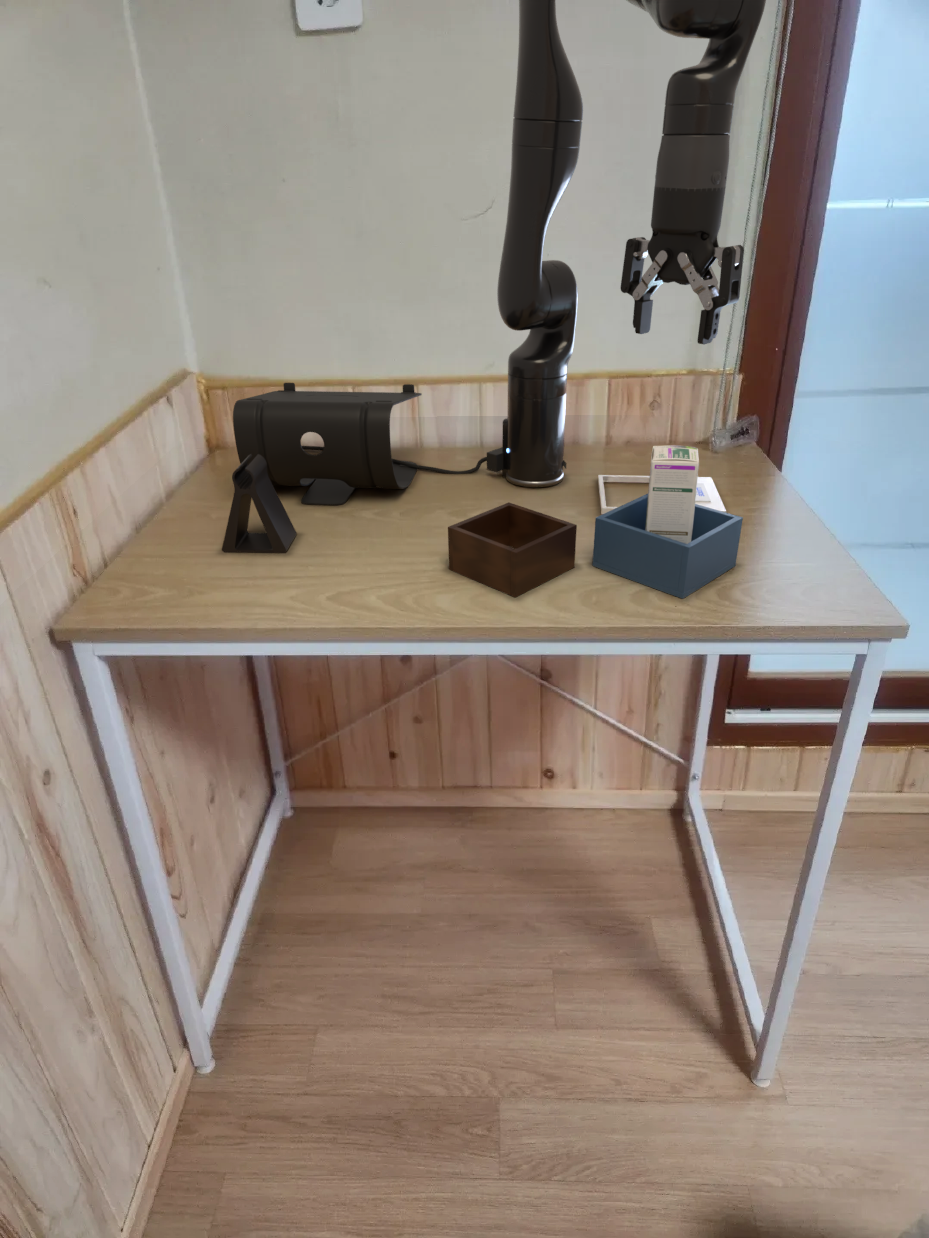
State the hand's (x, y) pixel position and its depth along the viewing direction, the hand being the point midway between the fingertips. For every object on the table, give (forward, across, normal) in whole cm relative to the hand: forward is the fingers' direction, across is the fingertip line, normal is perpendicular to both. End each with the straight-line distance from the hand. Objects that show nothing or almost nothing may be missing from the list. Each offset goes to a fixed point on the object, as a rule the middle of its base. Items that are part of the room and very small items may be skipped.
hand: (672, 338), depth 99 cm
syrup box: (+27, -4, +2) cm, 28 cm away
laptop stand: (+29, +53, +11) cm, 62 cm away
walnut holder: (+28, +10, +16) cm, 34 cm away
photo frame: (+28, +10, -18) cm, 35 cm away
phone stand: (+29, +41, +34) cm, 61 cm away
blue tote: (+28, -4, +2) cm, 28 cm away
